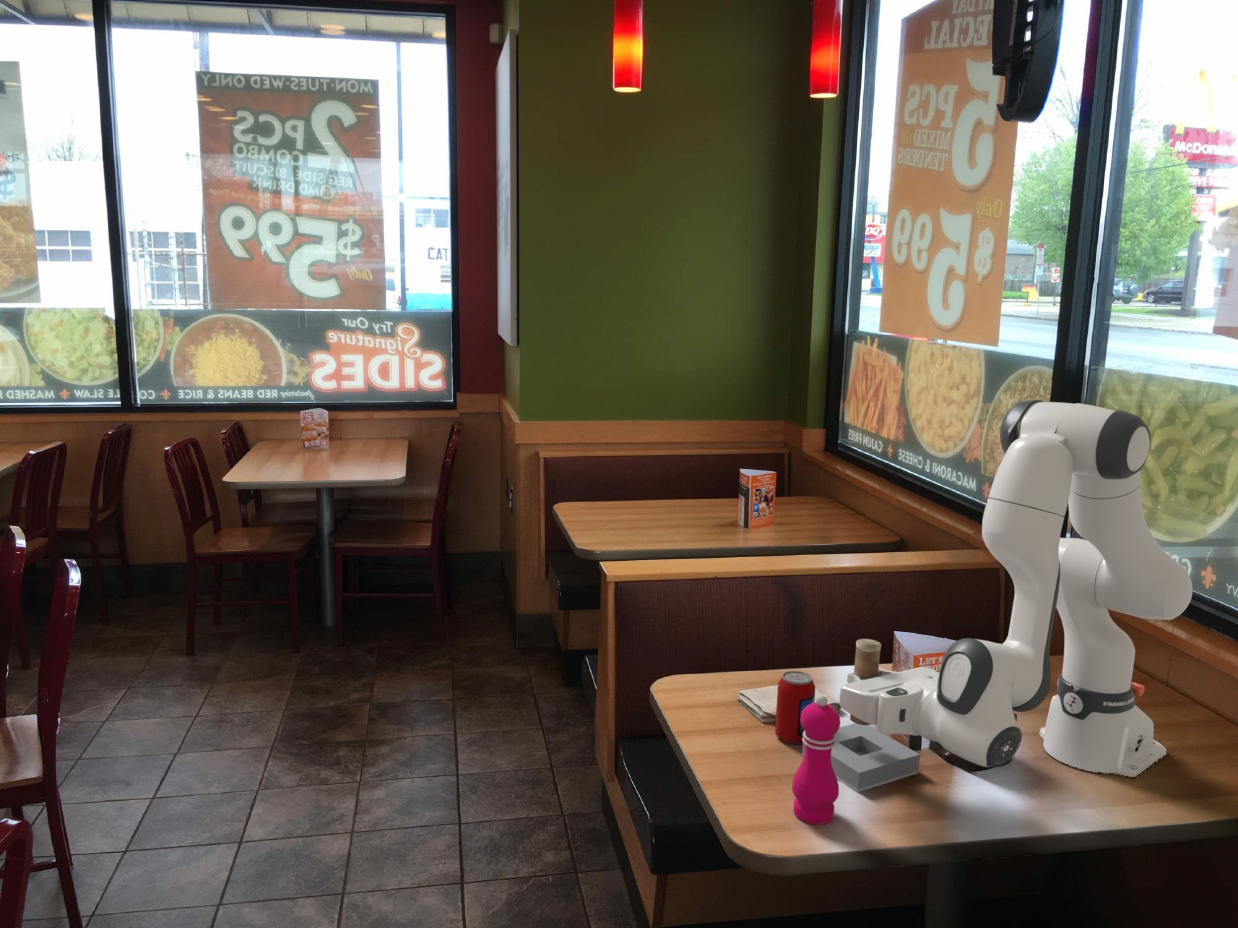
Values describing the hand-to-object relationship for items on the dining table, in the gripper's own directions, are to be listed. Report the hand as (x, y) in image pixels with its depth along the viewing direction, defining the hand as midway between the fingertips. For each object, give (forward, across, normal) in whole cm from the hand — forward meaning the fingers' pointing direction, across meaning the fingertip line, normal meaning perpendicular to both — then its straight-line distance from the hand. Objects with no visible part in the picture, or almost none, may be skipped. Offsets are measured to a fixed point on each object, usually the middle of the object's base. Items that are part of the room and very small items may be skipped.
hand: (862, 674), depth 165 cm
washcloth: (+23, -4, +17) cm, 29 cm away
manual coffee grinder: (-10, -20, +16) cm, 28 cm away
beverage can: (+12, +4, +17) cm, 21 cm away
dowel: (-1, 0, +8) cm, 8 cm away
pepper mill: (-10, +18, +17) cm, 26 cm away
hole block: (-1, 0, +16) cm, 16 cm away
